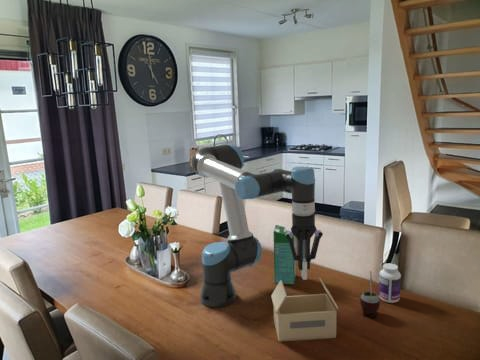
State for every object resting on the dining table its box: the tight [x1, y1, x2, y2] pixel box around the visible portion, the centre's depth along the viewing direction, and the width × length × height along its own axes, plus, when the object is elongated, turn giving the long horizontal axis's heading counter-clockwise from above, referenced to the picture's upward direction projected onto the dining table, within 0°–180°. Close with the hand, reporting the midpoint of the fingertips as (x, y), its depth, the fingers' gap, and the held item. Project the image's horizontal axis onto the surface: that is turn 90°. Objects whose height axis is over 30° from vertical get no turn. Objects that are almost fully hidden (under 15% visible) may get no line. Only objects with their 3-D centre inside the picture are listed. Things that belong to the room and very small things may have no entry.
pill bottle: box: [378, 262, 402, 304], centre depth 146 cm, size 8×8×14 cm
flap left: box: [270, 280, 288, 313], centre depth 127 cm, size 1×11×7 cm, turn 5°
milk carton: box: [273, 224, 297, 285], centre depth 164 cm, size 9×9×25 cm
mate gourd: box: [359, 270, 381, 319], centre depth 136 cm, size 8×8×15 cm
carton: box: [273, 293, 338, 342], centre depth 129 cm, size 20×12×10 cm, turn 93°
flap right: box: [318, 277, 340, 310], centre depth 127 cm, size 1×11×7 cm
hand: (304, 277), depth 125 cm, fingers closed
